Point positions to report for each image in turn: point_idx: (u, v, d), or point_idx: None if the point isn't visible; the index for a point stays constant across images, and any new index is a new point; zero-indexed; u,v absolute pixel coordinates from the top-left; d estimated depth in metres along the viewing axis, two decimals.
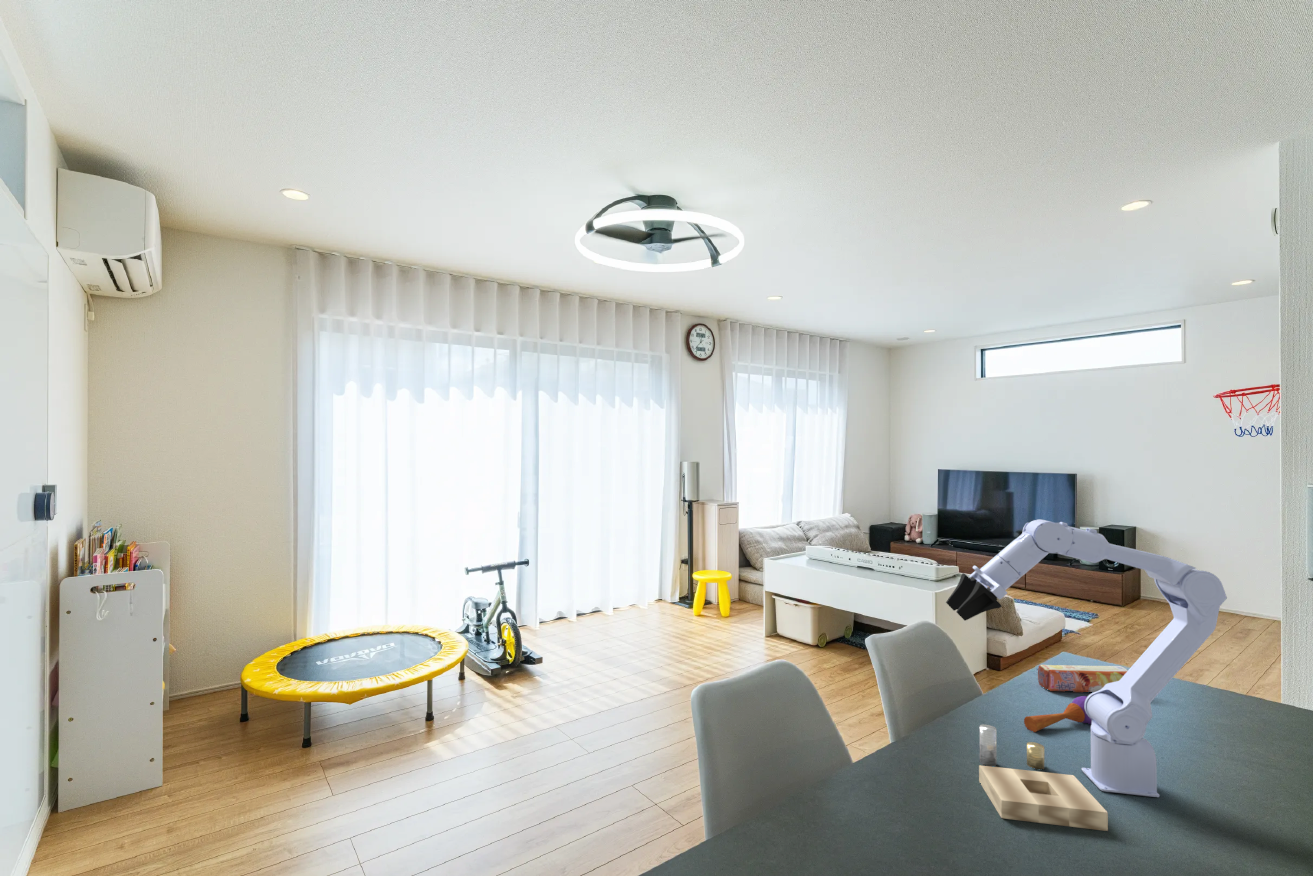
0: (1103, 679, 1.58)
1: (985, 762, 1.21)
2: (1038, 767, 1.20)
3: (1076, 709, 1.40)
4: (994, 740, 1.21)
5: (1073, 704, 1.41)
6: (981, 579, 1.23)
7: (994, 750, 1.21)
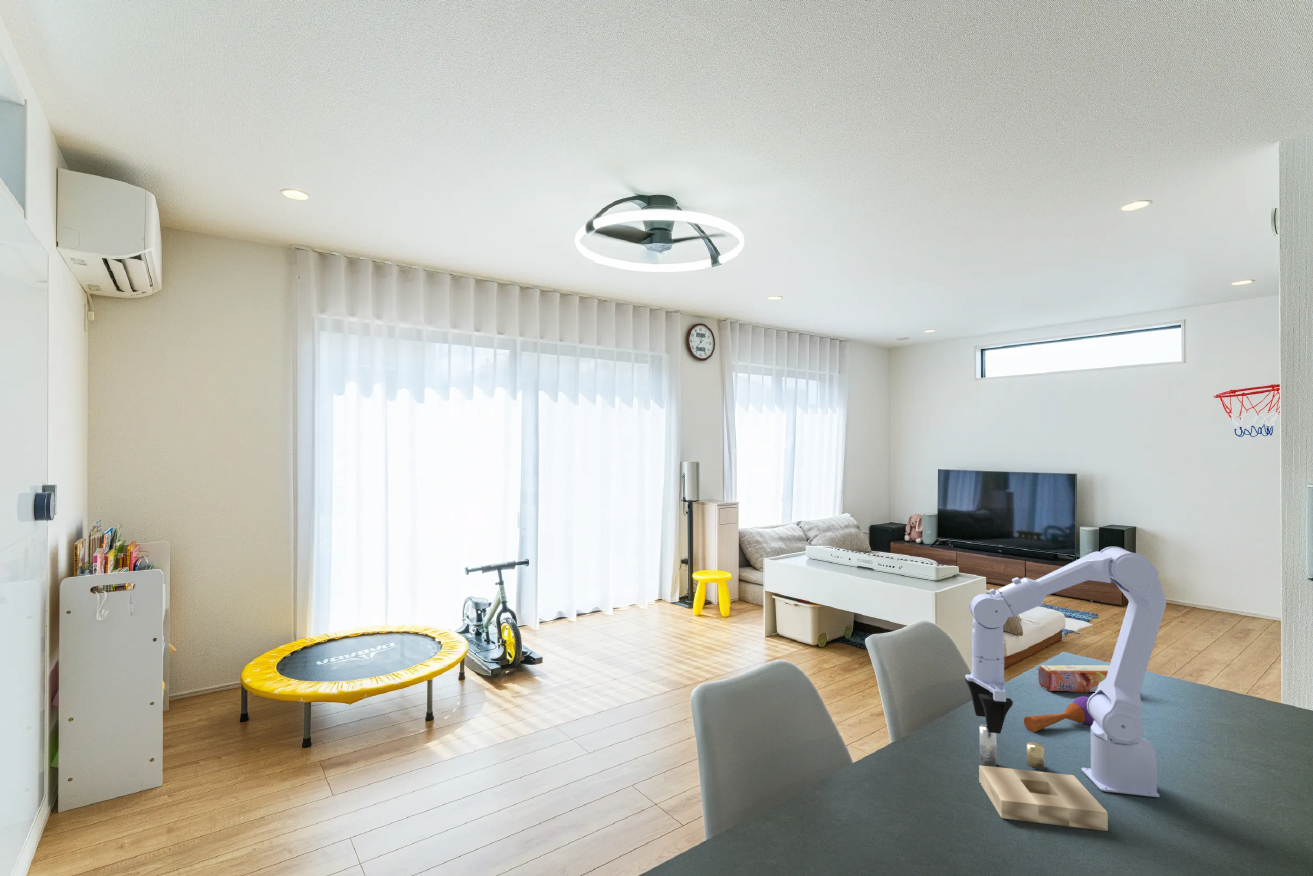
0: (1103, 679, 1.59)
1: (985, 762, 1.21)
2: (1038, 767, 1.20)
3: (1077, 710, 1.40)
4: (994, 740, 1.21)
5: (1073, 704, 1.41)
6: None
7: (994, 750, 1.21)
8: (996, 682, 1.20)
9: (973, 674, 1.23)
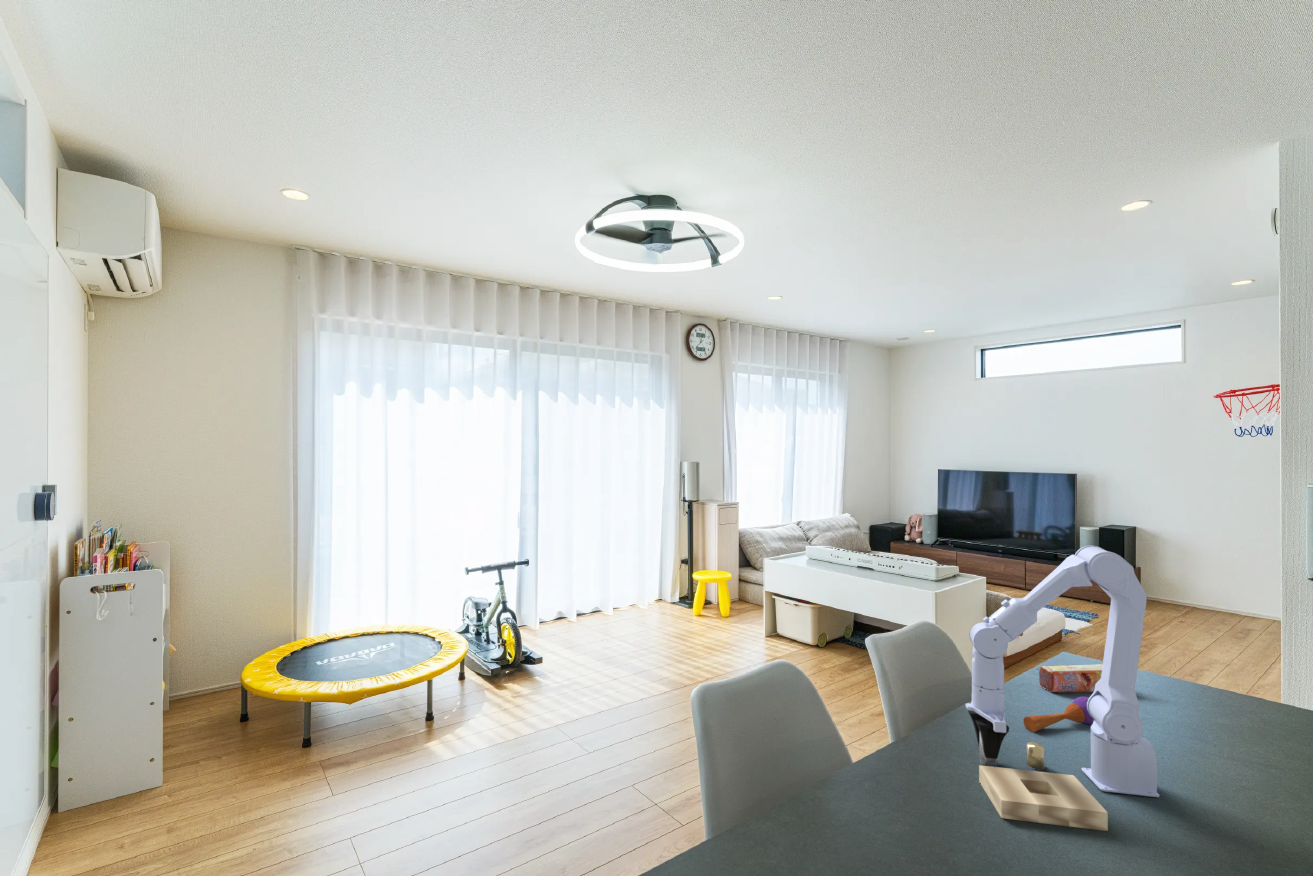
0: None
1: (985, 762, 1.21)
2: (1038, 767, 1.20)
3: (1076, 710, 1.40)
4: None
5: (1073, 704, 1.41)
6: None
7: None
8: (996, 712, 1.20)
9: (973, 703, 1.23)
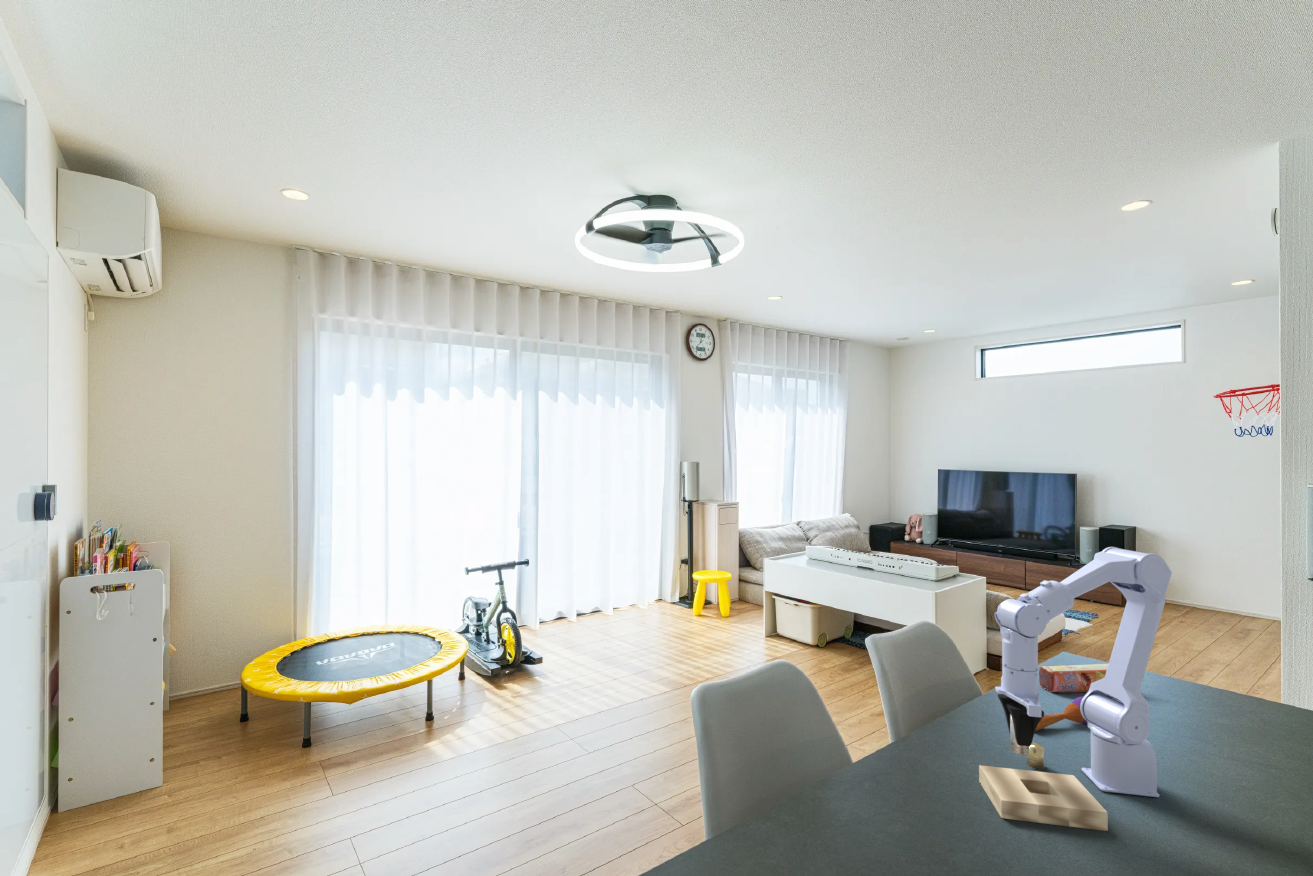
0: (1102, 678, 1.59)
1: (1016, 750, 1.12)
2: (1038, 767, 1.20)
3: (1076, 710, 1.40)
4: None
5: (1073, 704, 1.41)
6: None
7: None
8: (1030, 695, 1.10)
9: (1004, 686, 1.13)
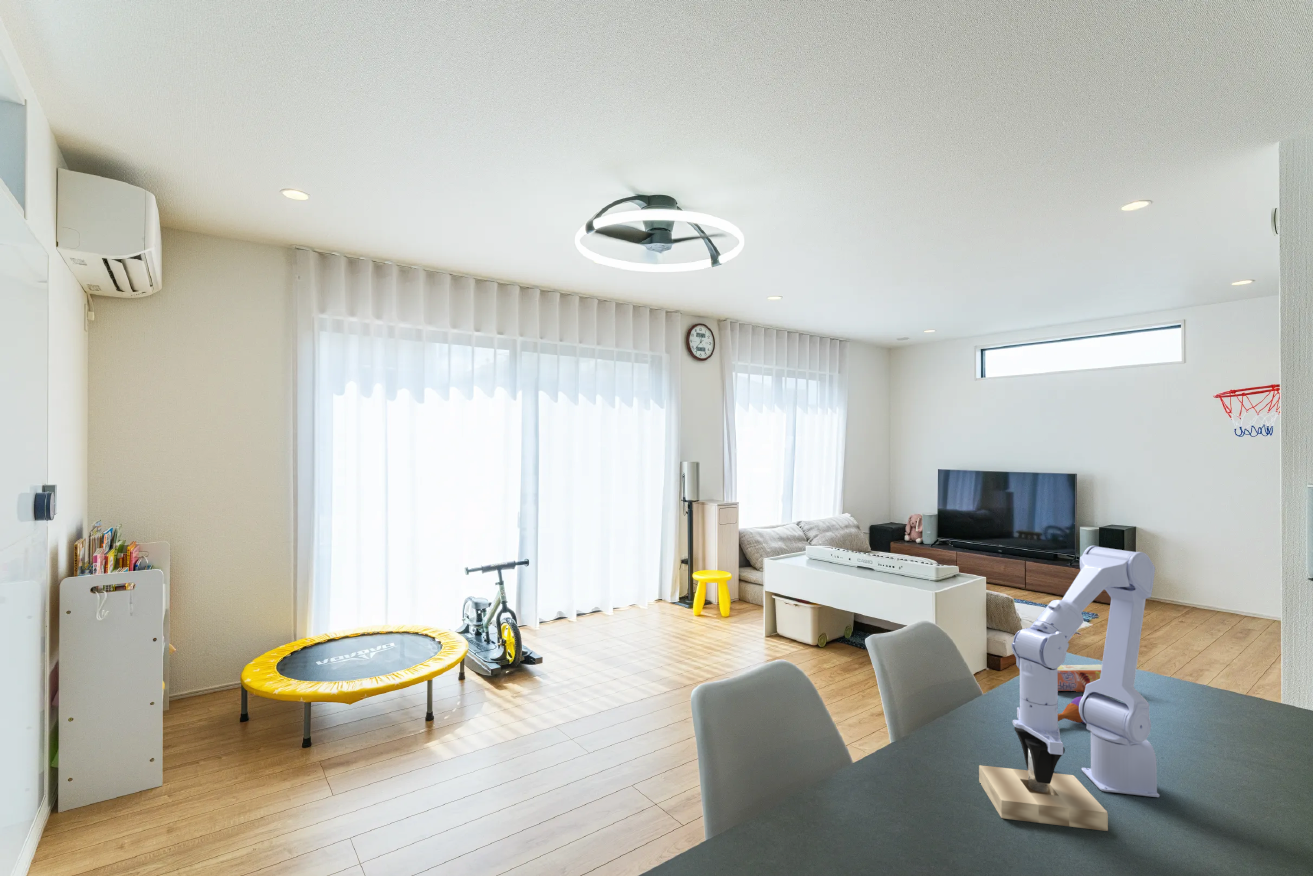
0: None
1: (1035, 787, 1.07)
2: None
3: (1075, 710, 1.40)
4: None
5: (1072, 704, 1.41)
6: None
7: None
8: (1049, 730, 1.05)
9: (1022, 720, 1.08)
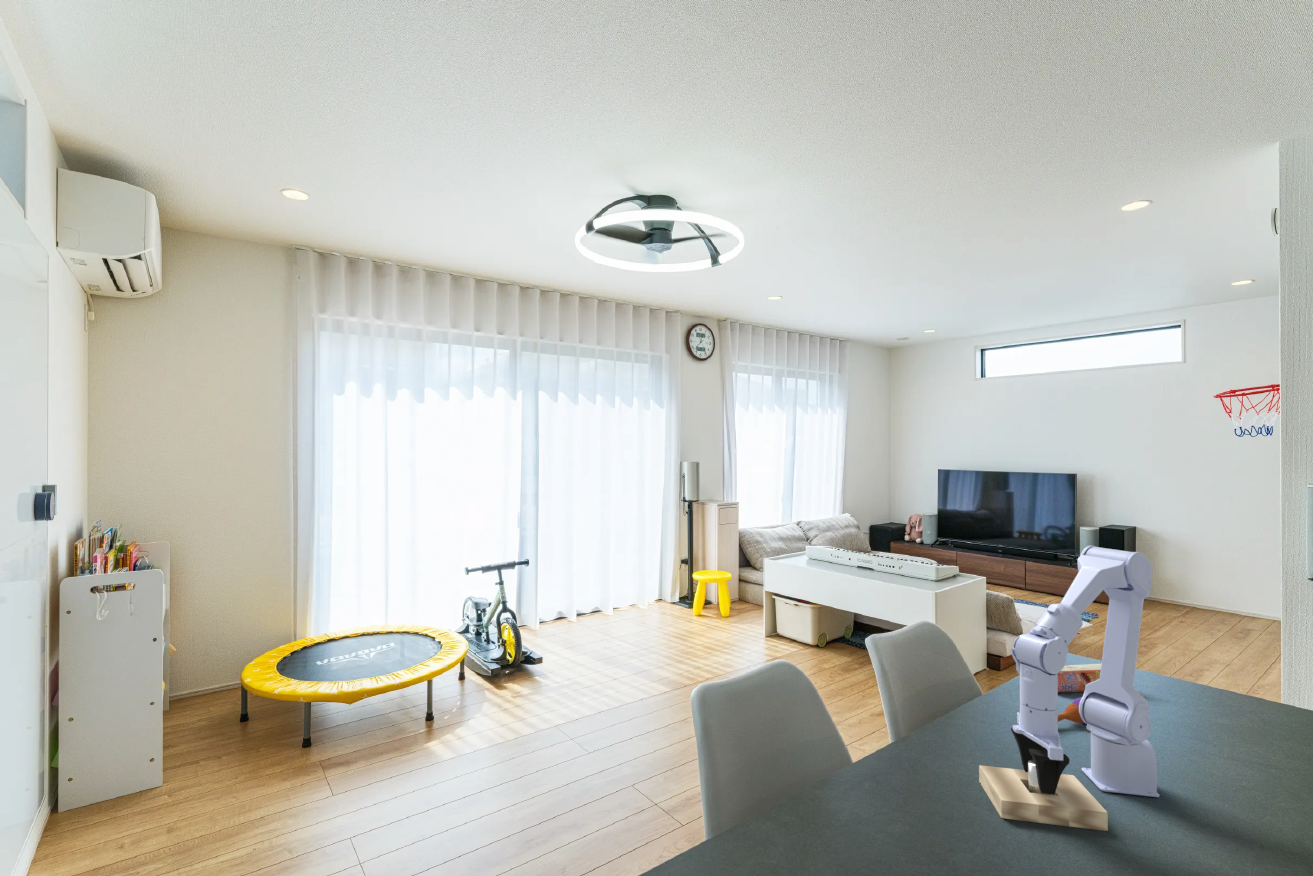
0: None
1: None
2: None
3: (1076, 710, 1.39)
4: None
5: (1073, 705, 1.41)
6: None
7: None
8: (1049, 736, 1.05)
9: (1022, 725, 1.08)
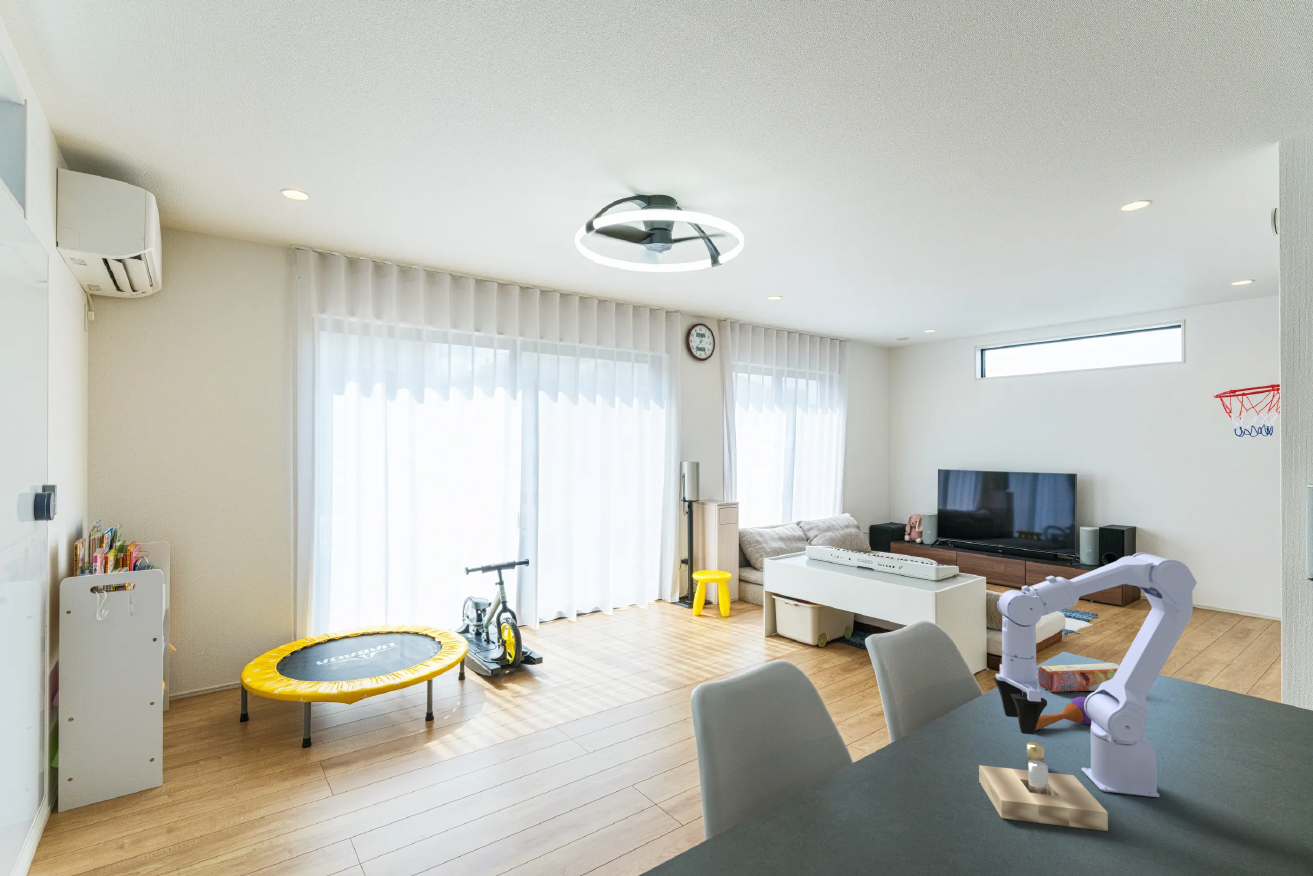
0: (1101, 677, 1.59)
1: None
2: None
3: (1075, 710, 1.40)
4: (1046, 779, 1.06)
5: (1072, 704, 1.41)
6: None
7: (1046, 790, 1.06)
8: (1029, 681, 1.16)
9: (1004, 673, 1.19)
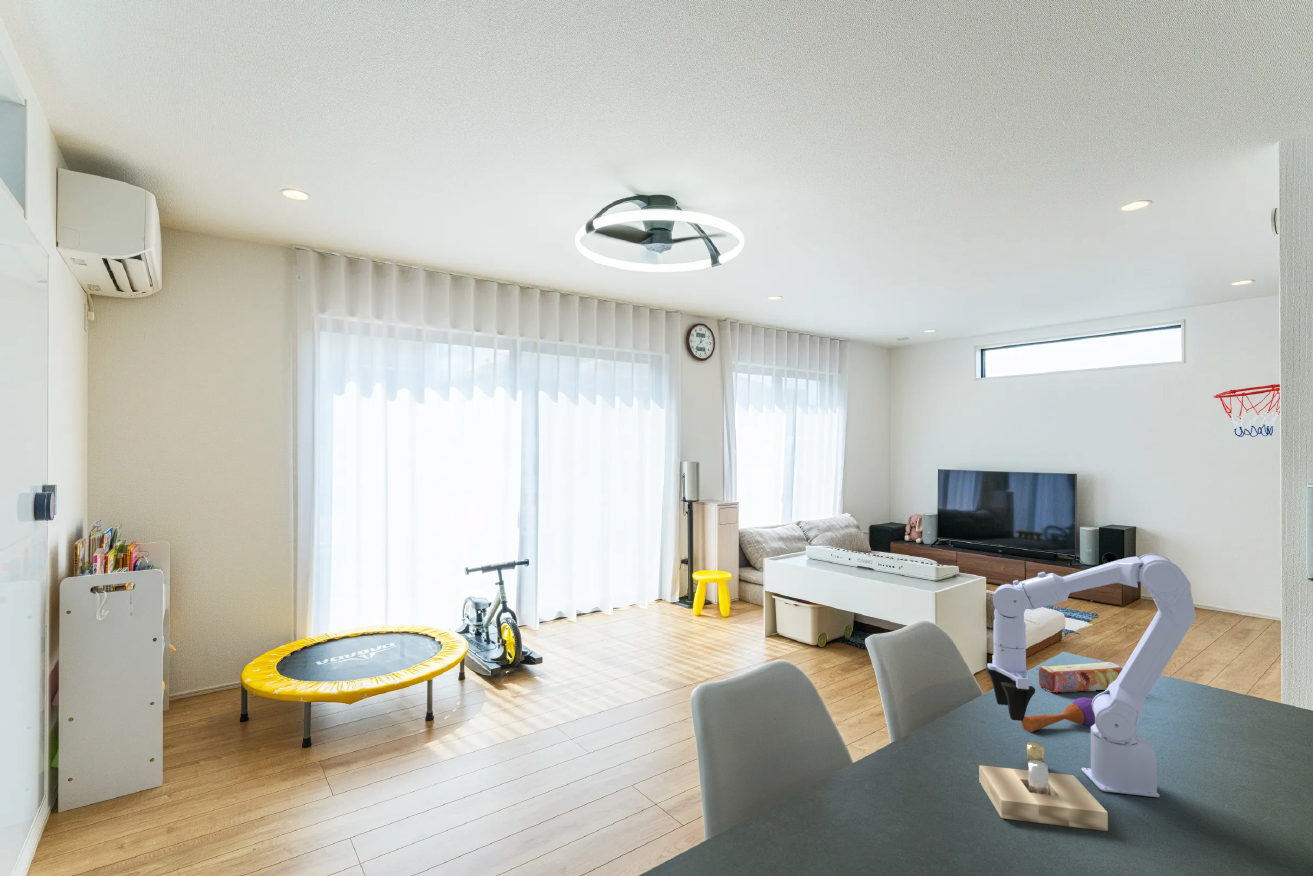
0: (1100, 677, 1.60)
1: None
2: None
3: (1075, 710, 1.39)
4: (1046, 779, 1.06)
5: (1073, 705, 1.41)
6: None
7: (1046, 790, 1.06)
8: (1018, 670, 1.22)
9: (995, 663, 1.25)
